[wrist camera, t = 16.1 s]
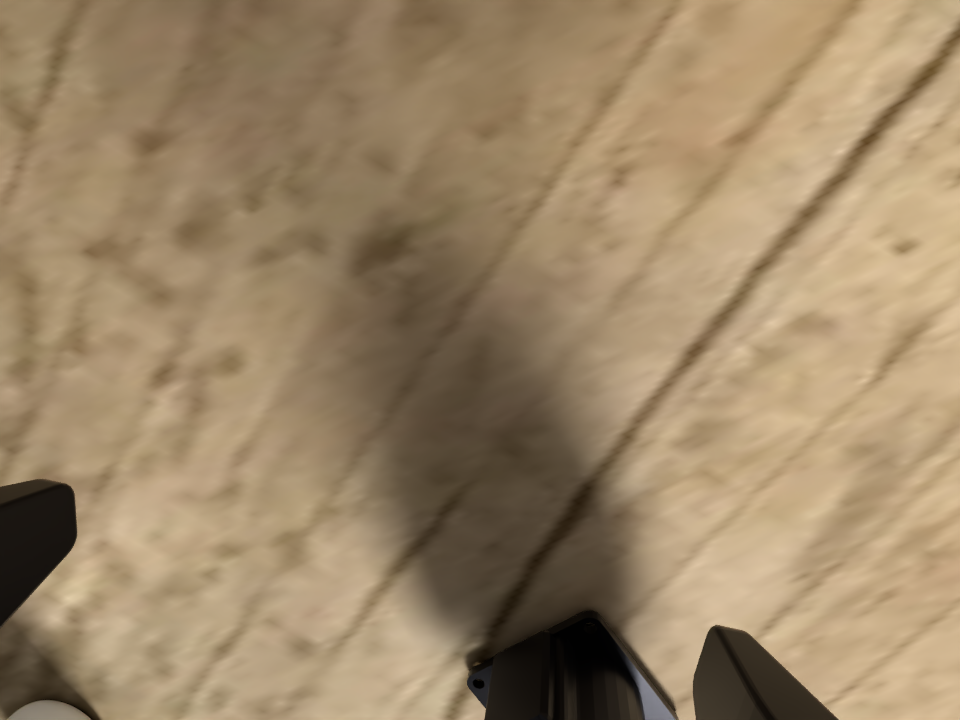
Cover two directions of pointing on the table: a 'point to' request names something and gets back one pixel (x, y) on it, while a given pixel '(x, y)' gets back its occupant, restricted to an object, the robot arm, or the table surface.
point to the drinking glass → (48, 711)
